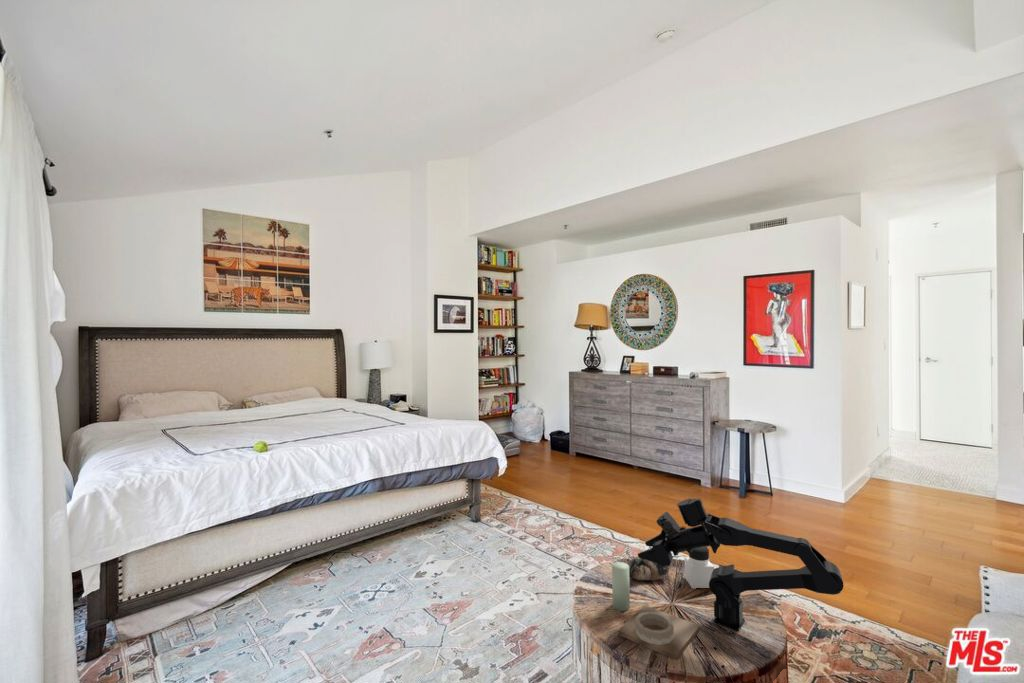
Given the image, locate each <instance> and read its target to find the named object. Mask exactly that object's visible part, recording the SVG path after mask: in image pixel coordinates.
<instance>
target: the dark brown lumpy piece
mask: <svg viewBox="0 0 1024 683" xmlns="http://www.w3.org/2000/svg"><path fill="white" fill-rule="evenodd" d="M628 565H629V579H630V578H633V579H634V580H637V581H658V580H661V579H662V578H663V576H666V575H667V574H668V573H669V571H670V569H671V567H670V566H668V567H662V566H660V564H658V563H655V562H652V561H649V560H645V559H642V558H639V557H638V558H637V557H633V558H632V559H630V560H629V561H628Z"/></svg>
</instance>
